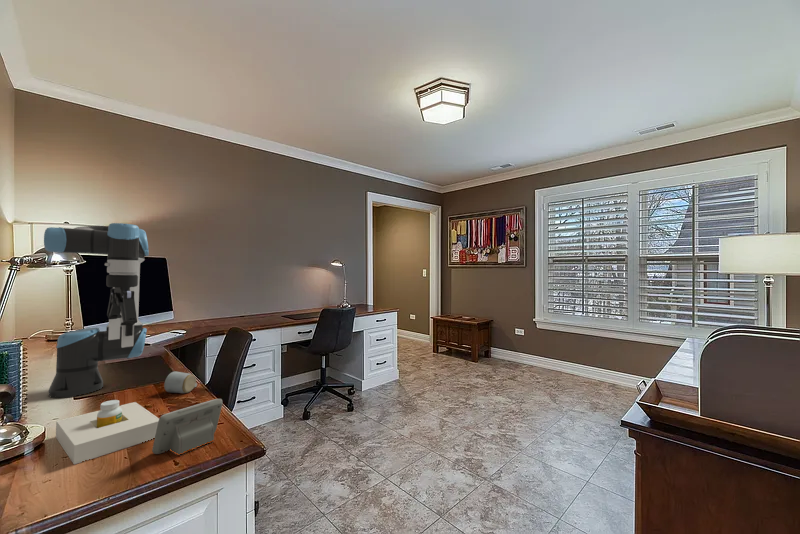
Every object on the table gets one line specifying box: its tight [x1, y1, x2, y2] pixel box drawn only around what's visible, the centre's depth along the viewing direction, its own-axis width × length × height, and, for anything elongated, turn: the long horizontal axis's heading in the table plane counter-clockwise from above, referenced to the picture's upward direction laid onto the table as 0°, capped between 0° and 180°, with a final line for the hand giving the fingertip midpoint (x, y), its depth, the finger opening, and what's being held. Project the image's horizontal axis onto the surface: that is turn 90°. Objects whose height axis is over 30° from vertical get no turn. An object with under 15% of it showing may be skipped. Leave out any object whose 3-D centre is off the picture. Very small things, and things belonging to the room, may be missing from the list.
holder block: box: [55, 401, 160, 465], centre depth 95 cm, size 22×18×4 cm
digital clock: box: [151, 398, 223, 455], centre depth 92 cm, size 16×9×11 cm, turn 135°
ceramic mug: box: [163, 370, 198, 394], centre depth 133 cm, size 11×8×8 cm
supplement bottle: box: [97, 399, 122, 428], centre depth 95 cm, size 5×5×10 cm
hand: (120, 342), depth 105 cm, fingers open, 13 cm apart
